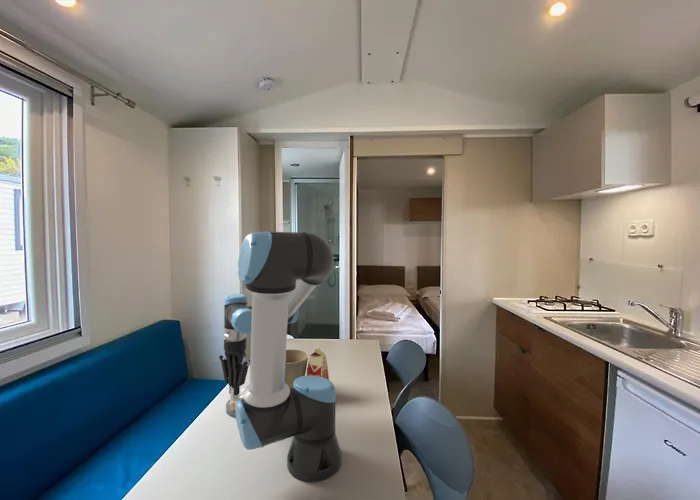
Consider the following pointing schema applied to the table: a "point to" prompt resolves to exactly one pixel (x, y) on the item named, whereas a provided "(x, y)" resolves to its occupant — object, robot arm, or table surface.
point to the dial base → (228, 409)
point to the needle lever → (237, 400)
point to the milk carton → (318, 364)
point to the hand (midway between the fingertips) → (234, 403)
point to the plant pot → (295, 365)
